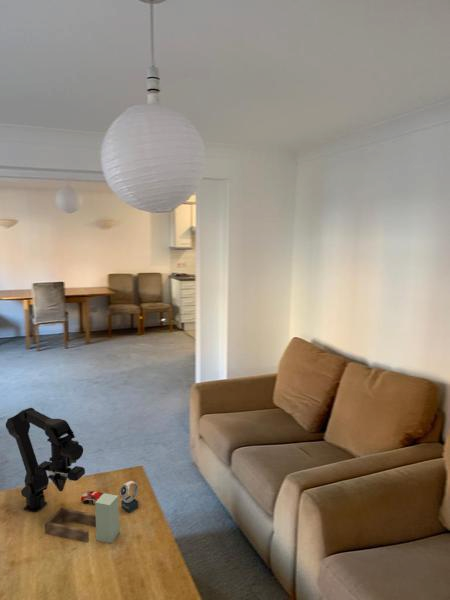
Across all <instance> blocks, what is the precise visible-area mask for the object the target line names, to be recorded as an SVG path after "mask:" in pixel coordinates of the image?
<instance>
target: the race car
mask: <svg viewBox="0 0 450 600" xmlns="http://www.w3.org/2000/svg"><path fill="white" fill-rule="evenodd" d="M103 494H104V492H101V491H97V490H89V491H84V492H83V493H82V495H81V498H80V502H81V503H82V504H85V505H94V506H95V502H96V501H97V500H98V499H99V498H100V497H101V496H102V495H103Z"/></svg>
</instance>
